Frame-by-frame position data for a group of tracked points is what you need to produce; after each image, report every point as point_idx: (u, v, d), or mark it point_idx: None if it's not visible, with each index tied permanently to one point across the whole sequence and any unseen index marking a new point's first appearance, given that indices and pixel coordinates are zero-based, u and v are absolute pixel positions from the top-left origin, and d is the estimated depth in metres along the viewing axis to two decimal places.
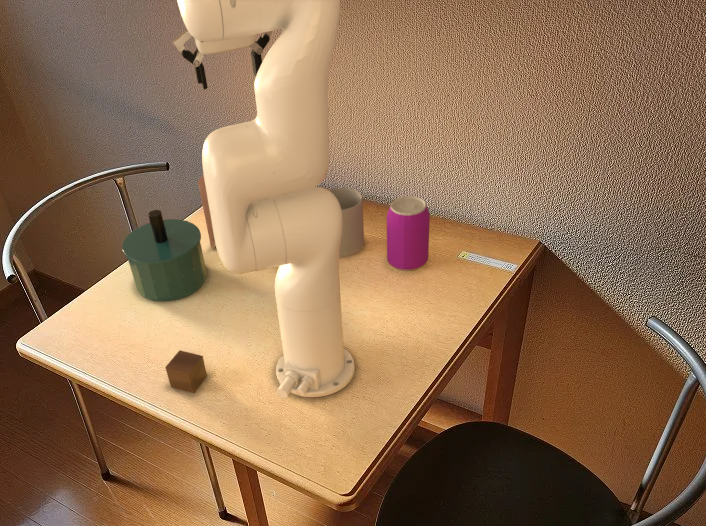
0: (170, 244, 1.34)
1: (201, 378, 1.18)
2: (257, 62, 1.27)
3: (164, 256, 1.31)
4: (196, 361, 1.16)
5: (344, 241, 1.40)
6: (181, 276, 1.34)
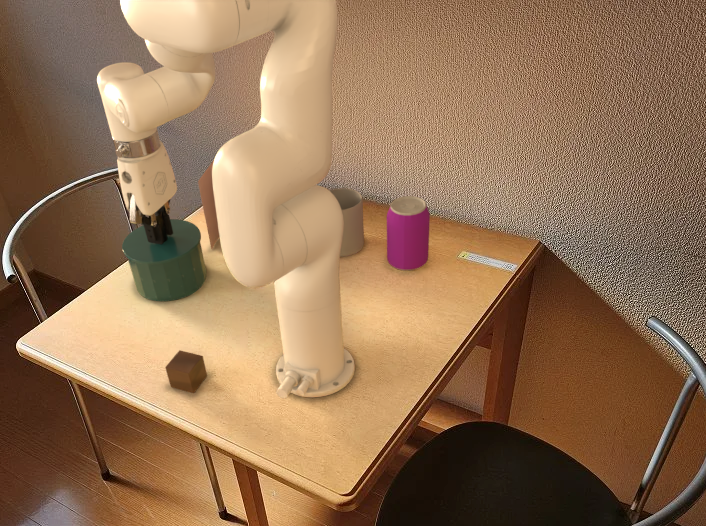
0: (170, 244, 1.34)
1: (201, 378, 1.18)
2: (169, 221, 1.34)
3: (164, 256, 1.31)
4: (196, 361, 1.16)
5: (344, 241, 1.40)
6: (181, 276, 1.34)
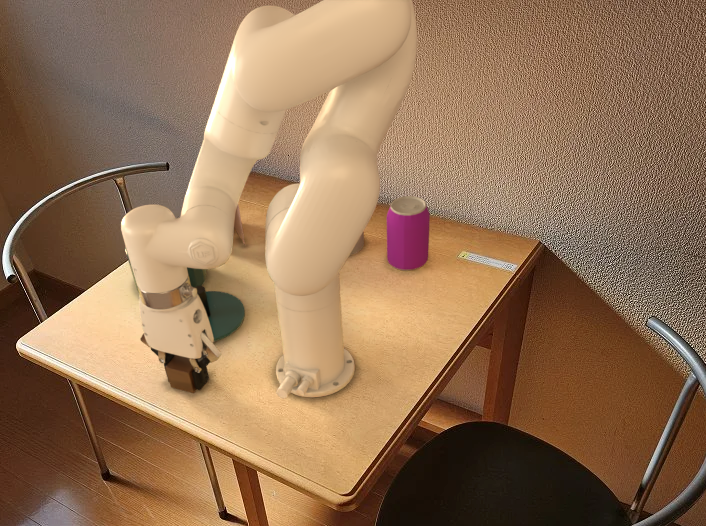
0: (213, 321, 1.29)
1: None
2: None
3: None
4: None
5: None
6: None
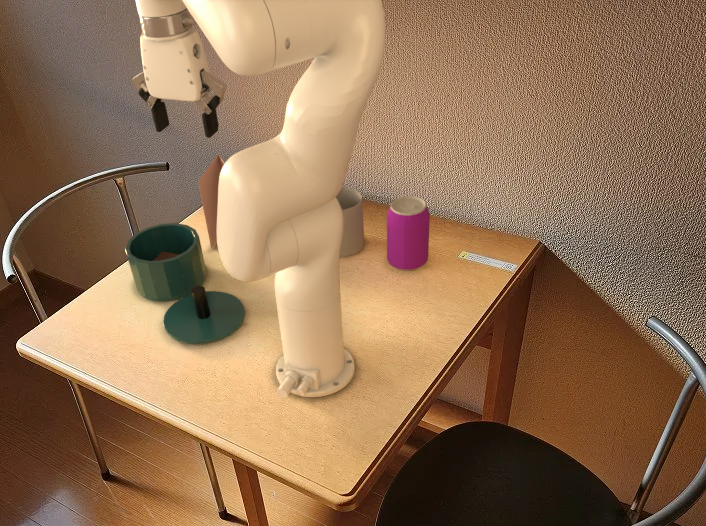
0: (213, 321, 1.29)
1: None
2: None
3: (208, 335, 1.26)
4: None
5: (344, 241, 1.40)
6: (181, 276, 1.34)
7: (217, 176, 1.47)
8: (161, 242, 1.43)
